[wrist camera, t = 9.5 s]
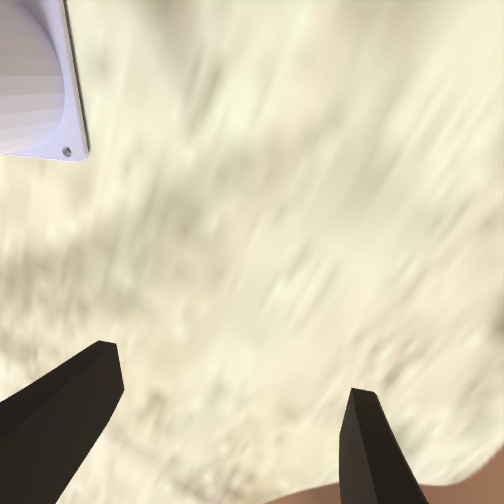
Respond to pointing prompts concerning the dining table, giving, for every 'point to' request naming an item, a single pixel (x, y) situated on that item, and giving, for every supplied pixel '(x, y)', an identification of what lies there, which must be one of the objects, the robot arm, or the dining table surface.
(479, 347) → the dining table surface
